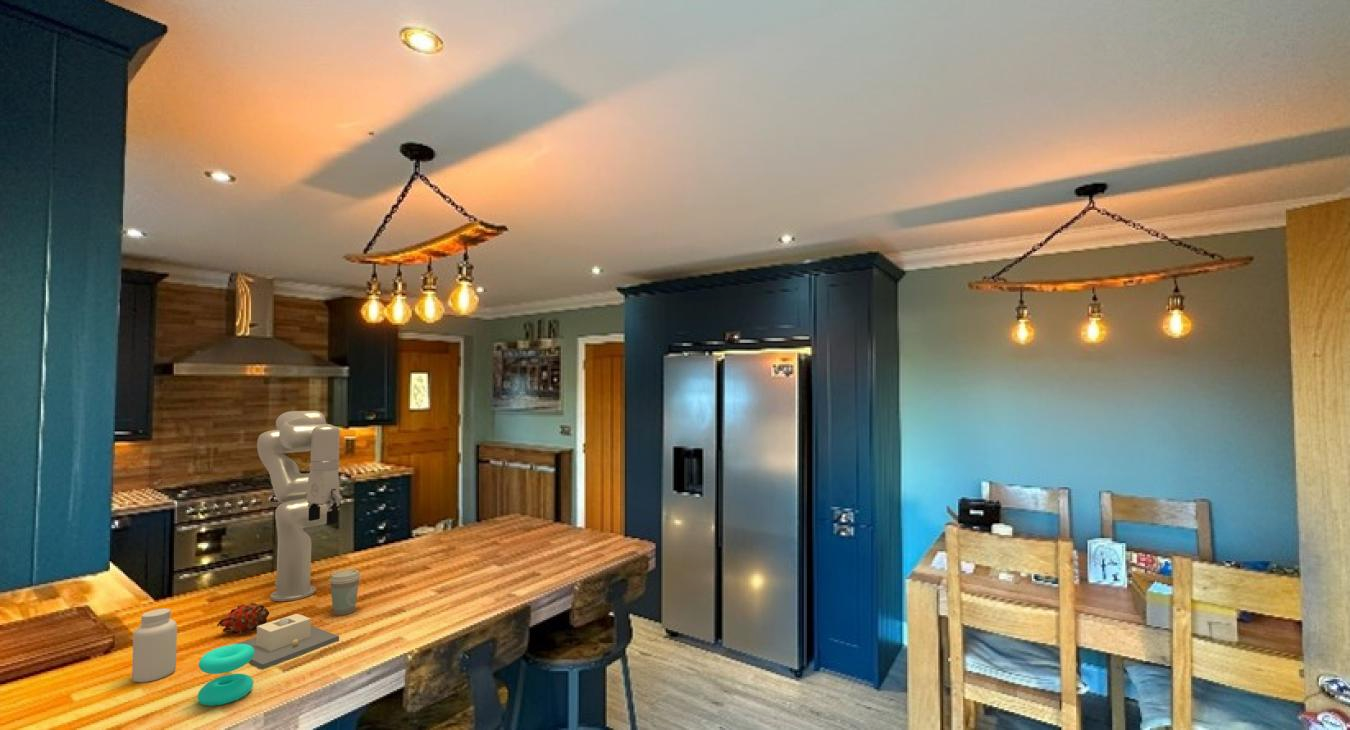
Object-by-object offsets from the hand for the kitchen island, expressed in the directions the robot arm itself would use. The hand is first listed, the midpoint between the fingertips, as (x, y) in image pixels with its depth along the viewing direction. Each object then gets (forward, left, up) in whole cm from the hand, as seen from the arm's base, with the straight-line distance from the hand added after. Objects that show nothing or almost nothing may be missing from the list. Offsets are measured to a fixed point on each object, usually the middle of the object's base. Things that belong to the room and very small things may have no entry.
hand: (323, 521), depth 178 cm
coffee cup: (+4, +5, -28) cm, 29 cm away
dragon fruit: (-6, -18, -29) cm, 34 cm away
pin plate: (+13, -17, -28) cm, 35 cm away
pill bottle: (+3, -41, -28) cm, 50 cm away
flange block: (+13, -17, -27) cm, 34 cm away
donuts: (+29, -37, -29) cm, 55 cm away
